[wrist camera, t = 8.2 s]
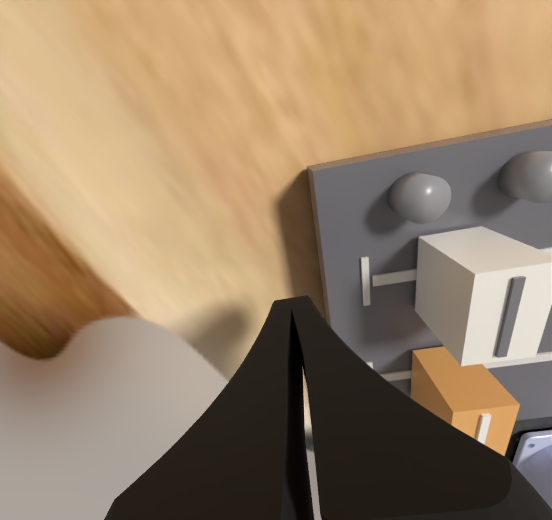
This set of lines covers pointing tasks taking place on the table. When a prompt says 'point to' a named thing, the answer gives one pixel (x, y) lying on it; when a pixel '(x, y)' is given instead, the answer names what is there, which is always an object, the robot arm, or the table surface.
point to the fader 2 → (464, 397)
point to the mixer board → (420, 222)
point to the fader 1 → (483, 294)
